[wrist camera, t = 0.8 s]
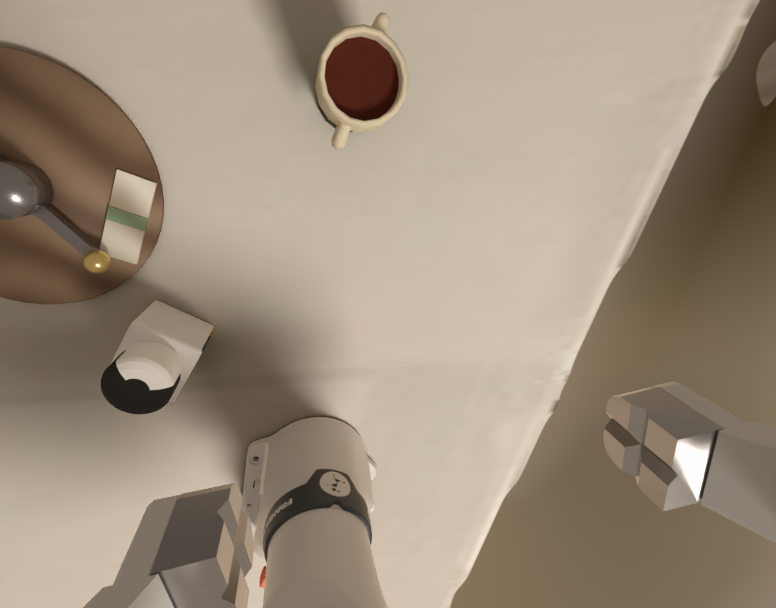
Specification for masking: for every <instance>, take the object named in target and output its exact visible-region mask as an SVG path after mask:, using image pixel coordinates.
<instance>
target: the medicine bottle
mask: <svg viewBox="0 0 776 608" xmlns="http://www.w3.org/2000/svg"><path fill="white" fill-rule="evenodd" d="M213 331H214V326H213V325H211V324H209V323H207V322H204V321H202V320H200V319H198V318H196V317H193V316H191V315H189V314H187V313H185V312H182V311H180V310H178V309H176V308H173V307H171V306H169V305H167V304H165V303H162V302H160V301H158V300H155V301H153V302H152V303H151V304H150V305H149V306H148V307H147V308H146V309H145V310H144V311H143V312H142V313H141V314H140V315H139V316H138V317H137V318H136V319H135V320H134V321H133V322H132V323H131V324H130V326H129V328H128V330H127V332H126V334H125V336H124V338H123V340H122V342H121V344H120V346H119V348H118V350H117V351H116V353H115V355H114V357H113V359H112V361H111V363H110V365H109V367H108V368H107V369H106V370H105V371H104V373H103V375H102V378H101V390H102V392H103V395H104V396H105V398H106V399H107V401H108V402H109V403H110V404H112V405H113V406H114V407H116V408H117V409H119V410H121V411H124V412H127V413H132V414H148V413H152V412H155V411H157V410H159V409H161V408H162V407H164V406H165V405H166V404H167V403H168V402H169V403H173V402H175V400H176V399H177V397H178V395H179V393H180V391H181V390H182V388H183V386H184V384H185V383H186V381H187V379H188V377H189V375H190V374H191V372H192V370H193V368H194V367H195V365H196V363H197V361H198V359H199V358H200V356H201V354H202V352H203V350H204V348H205V346H206V344H207V342H208V340H209V338H210V337H211V335H212V333H213Z"/></svg>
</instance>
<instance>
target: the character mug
mask: <svg viewBox="0 0 776 608" xmlns="http://www.w3.org/2000/svg"><path fill="white" fill-rule="evenodd" d="M388 24H389V17H388V15H387V14H386V13H380V14H379V15H378V16H377V17H376V19H375V21H374V22H373V25H372V27H371V26H368V25H364V24H363V25H357V26H351V27H346V28H344V29H343V30H341V31H340V32H338V33H337V34H336V35H334V36H333V37H331V38H330V40H329V42H328V44H327V45H326V47H325V49H324V51H323V52H322V54H321V56H320V60H319V66H318V71H317V79H316V86H315V88H316V93H317V98H318V108H319V110H320V111H321V113H322V115H323V117H324V119H325V121H327V122H328V123H329V124H330V125H332V126H333V127H334V128H336V129H335V132H334V135H333V138H332V146H333V147H334V148H335V149H340V148H342V147H343V146H344V145H345V143H346V141H347V138H348V135H349V132H352V131H355V132H367V131H370V130H373V129H375V128H377V127H379V126H381V125H382V124H383V123H385V122H386V121H387V120H389V119H390V118H391V117H393V116H394V115H395V114H396V112H397V111H398V110H399V109H400V107H401V106H402V104H403V102H404V100H405V97H406V94H407V89H408V73H407V67H406V62H405V59H404V57H403V55H402V53H401V51H400V50H399V48H398V46H397V44H396V43H395V42H394V41H393V40H392V39H391V38H390V37H389V36H388V35H387V34H386V30H387V27H388Z"/></svg>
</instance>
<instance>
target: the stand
mask: <svg viewBox="0 0 776 608" xmlns="http://www.w3.org/2000/svg"><path fill="white" fill-rule="evenodd" d="M0 153H1V154H2V155H3V156H4V157H5V158H6V159H8V160H9V161H24V162H27V163H30V164H32V165H34V166H36V167H37V168H39V169H40V170H41V171H43V172H44V173H45V175H46V176H47V177H48V178H49V180H50V182H51V184H52V186H53V191H54V198H53V201H52V203H51V205H50V207H51V208H53V209H54V210H55V211H56V212H57V213H58V214H59V215H61V216H62V217H63V218H64V219H65V220H66V221H68V222H69V223H70V224H71V225H72V226H73V227H74V228H76V229H77V230H78V231H79V232H80V233H81V234H83V235H84V236H85V237H86V238H87V239H88V240H89V241H91V242H92V243H93V244H94V245H95V246H96V247H98V248H99V249H100V250H101V251H104V252H105V253H107V254H108V255H109V257H110V259H111V266H110V268H109V269H108V270H107V271H105V272H103V273H92V272H89V271H88V270H86V269H85V268H84V266H83V264H82V257H83V255H82V254H81V253H79V252H78V251H77V250H76V249H75V248H74V247H72V246H71V245H70V244H69V243H68V242H66V241H65V240H64V239H63V238H62V237H61V236H59V235H58V234H57V233H56V232H55V231H53V230H52V229H51V228H50V227H49V226H48V225H46V224H45V223H44V222H43V221H42V220H40V219H39V218H38V217H37V216H36V215H35V214H33V215H28V216H23V217H18V218H13V219H7V220H0V297H4V298H7V299H12V300H17V301H22V302H28V303H38V304H63V303H71V302H78V301H82V300H86V299H91V298H93V297H96V296H99V295H101V294H104V293H106V292H108V291H110V290H112V289H114V288H116V287H118V286H119V285H121V284H122V283H123V282H125V281H126V280H127V279H129V278H130V277H132V276H133V275H134V274H135V273H136V272H137V271H138V270H139V269H140V268H141V267H142V266H143V264H144V263H145V262H146V260H147V259H148V258H149V256H150V255H151V253H152V251H153V249H154V247H155V245H156V243H157V240H158V237H159V235H160V232H161V227H162V221H163V214H164V198H163V190H162V184H161V180H160V176H159V172H158V169H157V166H156V163H155V161H154V158H153V156H152V153H151V152H150V150H149V148H148V146H147V144H146V142H145V140H144V138H143V137H142V136H141V134H140V133H139V131H138V130H137V128H136V127H135V125H134V124H133V123H132V121H131V120H130V119H129V118H128V117H127V116H126V114H125V113H124V112H123V111H122V110H121V109H120V108H119V107H118V106H117V105H116V104H115V103H114V102H113V101H112V100H111V99H110V98H109V97H108V96H107V95H106V94H104V93H103V92H102V91H100V90H99V89H98V88H96V87H95V86H94V85H93V84H91V83H90V82H89V81H87V80H85V79H84V78H82V77H80V76H79V75H77V74H76V73H74V72H72V71H71V70H69V69H66V68H64V67H62V66H60V65H58V64H56V63H54V62H52V61H49V60H47V59H44V58H41V57H38V56H36V55H33V54H30V53H27V52H23V51H19V50H15V49H11V48H6V47H0Z"/></svg>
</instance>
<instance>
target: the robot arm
mask: <svg viewBox="0 0 776 608" xmlns="http://www.w3.org/2000/svg"><path fill="white" fill-rule="evenodd" d="M606 412H607V414H608V415H609V416H610V418H611V420H610V421H609V423H608V424H607V425H606V427H605V428H604V443H605V446H606V450H607V453H608V454H609V456H610V457H611V459H612V461H613V462H614V463H615V464H616V465H617V466H618V467H619V468H620V469H621V470H622V471H624V472H627V473H629V474H631V475H634V476H636V479H637V485H638V487H639V488H640V489H641V490H642V491H643V492H644V493H645V494H646V495H647V496H648V497H649V498H650V499H651V500H652V501H653V502H655V504H656V505H657V506H658V507H660V508H661V509H662V510H663V511H666V510H670V509H674V508H678V507H682V506H686V505H690V504H694V503H699V502H701V505H703V506H705V507H707V508H709V509H711V510H713V511H715V512H716V513H718V514H720V515H722V516H724V517H726V518H728V519H730V520H732V521H734V522H736V523H738V524H740V525H742V526H744V527H746V528H747V529H749V530H751V531H753V532H755V533H757V534H759V535H761V536H763V537H765V538H767V539H769V540H771V541H772V542H774V543H776V428H773V427H769V426H765V425H762V424H758V423H755V422H752V423H748V424H747V423H745V422H743V421H742V420H740V419H738V418H737V417H735V416H733V415H732V414H730V413H728V412H727V411H725V410H723V409H722V408H720V407H719V406H717V405H715V404H713V403H712V402H710V401H709V400H707V399H705V398H703V397H702V396H700V395H698V394H697V393H695V392H694V391H692V390H690V389H689V388H687V387H685V386H684V385H682V384H679V383H675V382H669V383H665V384H661V385H657V386H653V387H651V388H646V389H642V390H637V391H633V392H629V393H625V394H621V395H616V396H612V397H611V398H610V400H609V401H608V403H607V410H606ZM254 457H258V458H254ZM376 474H377V469H376V465H375V463H374V462H373V461H372V460H371V459H370V458H369V457H368V456H367V454H366V451H365V447H364V444H363V441H362V439H361V437H360V436H359V434H358V433H357V432H356V431H355V430H354V429H353V428H352V427H351V426H349V425H348V424H346V423H344V422H342V421H339V420H336V419H333V418H327V417H312V418H306V419H302V420H298V421H296V422H293V423H291V424H289V425H287V426H285V427H284V428H282V429H281V430H279V431H278V432H277V433H275V434H274V435H272V436H270V437H266V438H262V439H259V440H256V441H254V442H252V443H251V444H250V445H249V446H248V450H247V459H246V468H245V477H244V486H243V495H242V494H241V492H240V489H239V486H238V485H237V484H235V483H233V484H228V485H223V486H218V487H213V488H208V489H203V490H199V491H194V492H189V493H184V494H181V495H177V496H172V497H167V498H162V499H157V500H154V501H153V502H152V503H151V504H150V505H149V506H148V507H147V509H146V511H145V513H144V515H143V518H142V520H141V522H140V525H139V527H138V529H137V531H136V534H135V536H134V538H133V540H132V543H131V545H130V547H129V549H128V552H127V554H126V556H125V559H124V561H123V563H122V565H121V568H120V570H119V572H118V574H117V577H116V579H115V581H114V583H113V585H111V586H108V587H104V588H102V589H101V590H100V591H99V592H98V593H97V594H96V595H95V596H94V597H93V598H92V599H91V600H90V601H89V602H88V603H87V604H86V605H85V606H84V607H83V608H247V603H248V595H249V589H248V586H247V583H246V580H245V576H246V574H247V573H248V572H249V570H250V569H251V567H252V561H253V550H254V551H255V553H256V554H258V555H259V556H261V557H262V558H265V560H266V562H267V564H266V566H264V568H263V570H262V573H261V576H260V587H265V588H264V600H263V608H388V606H387V604H386V602H385V600H384V597H383V594H382V591H381V588H380V584H379V580H378V576H377V573H376V569H375V564H374V560H373V556H372V551H371V546H370V545H371V540H372V532H371V529H372V528H371V527H372V526H371V519H370V515H369V514H370V513H371V511H373V509H374V499H373V490H372V480H373V479H374V477H375V476H376Z"/></svg>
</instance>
